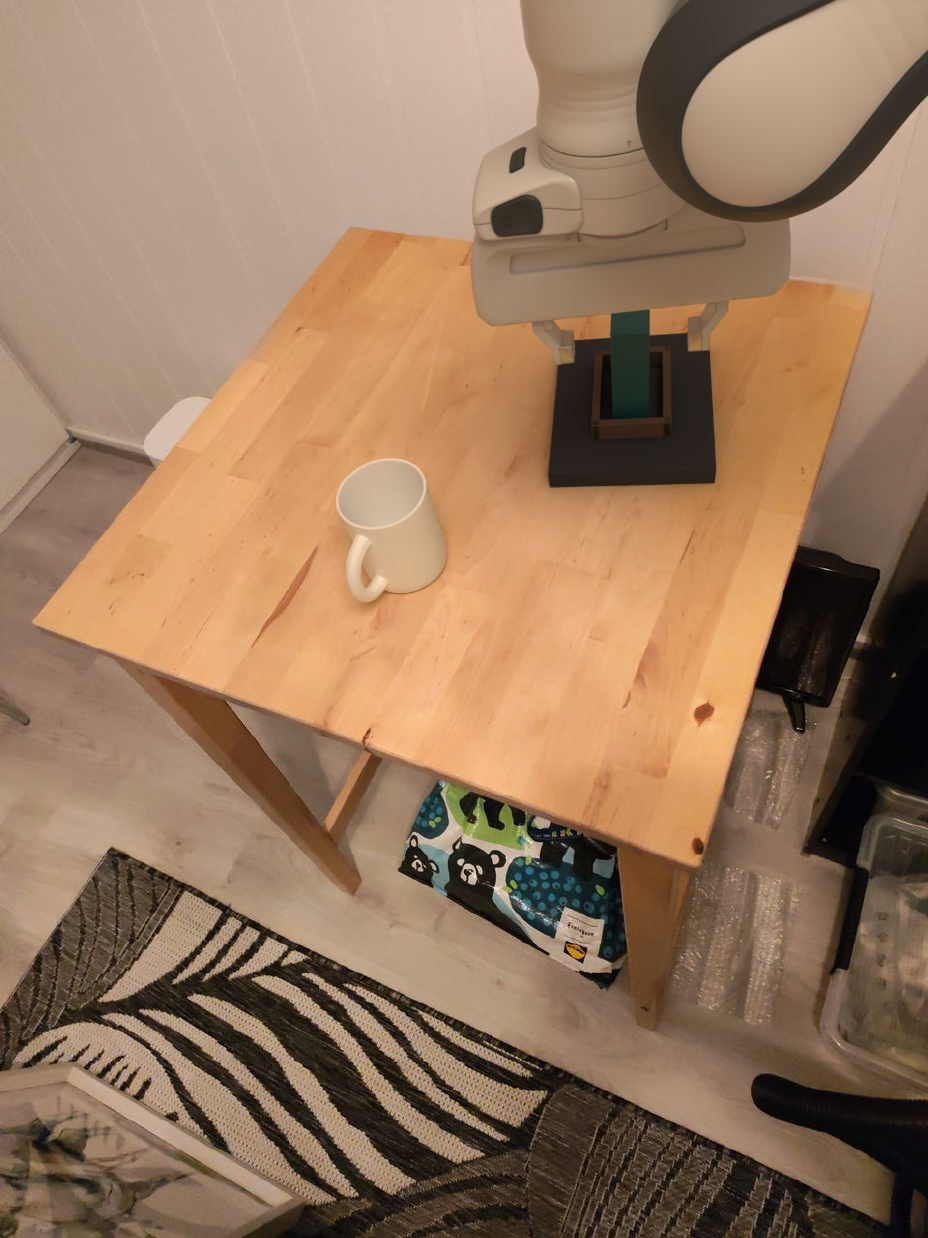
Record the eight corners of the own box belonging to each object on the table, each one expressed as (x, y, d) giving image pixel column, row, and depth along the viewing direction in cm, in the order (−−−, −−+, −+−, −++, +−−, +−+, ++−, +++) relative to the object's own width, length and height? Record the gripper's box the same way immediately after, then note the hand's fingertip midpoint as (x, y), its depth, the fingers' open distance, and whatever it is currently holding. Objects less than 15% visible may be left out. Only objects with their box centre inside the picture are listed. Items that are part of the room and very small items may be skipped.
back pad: (648, 375, 85) (649, 283, 76) (648, 423, 81) (649, 332, 72) (614, 377, 85) (611, 286, 76) (612, 424, 82) (610, 335, 73)
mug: (404, 638, 75) (375, 573, 66) (332, 612, 78) (294, 546, 69) (463, 541, 80) (443, 469, 71) (393, 520, 83) (365, 449, 74)
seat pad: (707, 346, 88) (710, 315, 85) (714, 483, 78) (718, 454, 75) (561, 354, 92) (558, 325, 89) (549, 487, 81) (546, 459, 78)
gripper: (804, 103, 46) (779, 307, 57) (458, 160, 51) (498, 337, 62) (817, 166, 43) (787, 368, 54) (446, 220, 48) (490, 395, 59)
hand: (630, 352), depth 58 cm, fingers open, 8 cm apart
